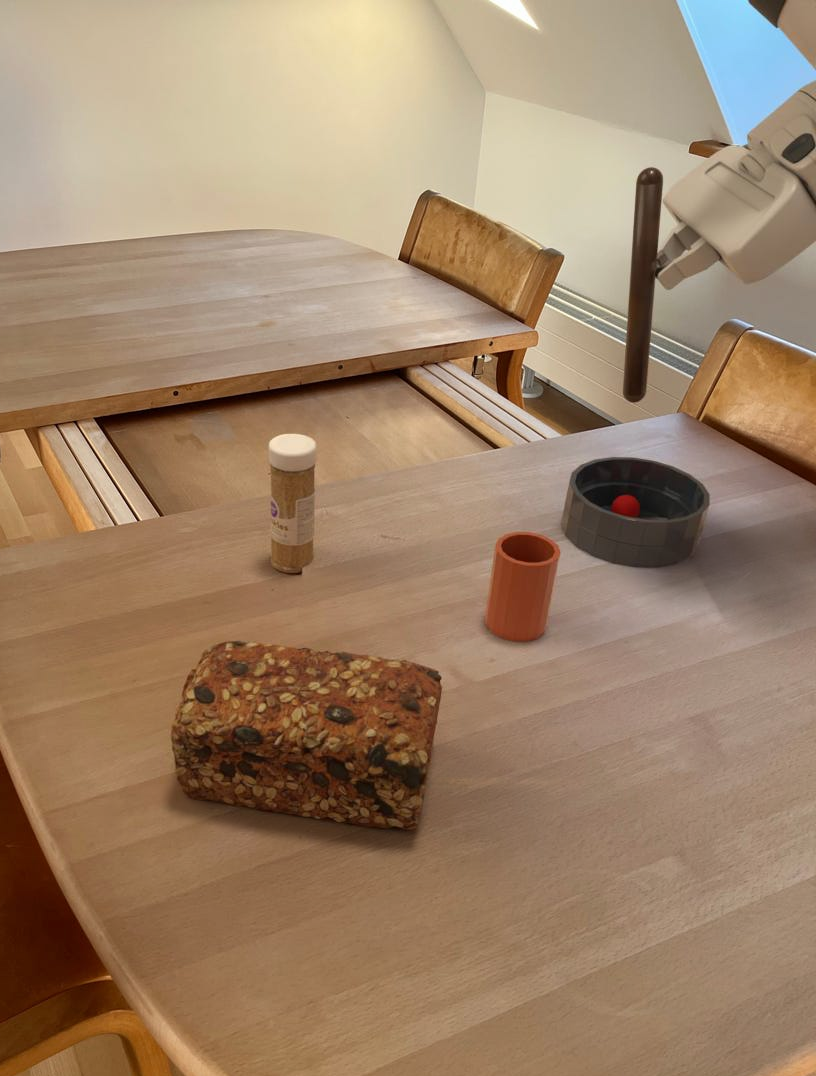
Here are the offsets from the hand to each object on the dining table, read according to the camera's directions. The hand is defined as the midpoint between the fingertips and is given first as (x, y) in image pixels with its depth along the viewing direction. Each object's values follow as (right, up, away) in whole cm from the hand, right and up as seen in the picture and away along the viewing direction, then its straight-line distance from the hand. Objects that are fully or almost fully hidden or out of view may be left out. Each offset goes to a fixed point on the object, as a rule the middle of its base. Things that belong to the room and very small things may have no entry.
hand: (655, 277), depth 88 cm
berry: (+3, -19, +18) cm, 26 cm away
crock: (-12, -32, +3) cm, 34 cm away
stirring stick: (0, -10, +7) cm, 12 cm away
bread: (-31, -43, -12) cm, 55 cm away
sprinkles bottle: (-33, -25, +11) cm, 43 cm away
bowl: (+3, -22, +17) cm, 28 cm away
